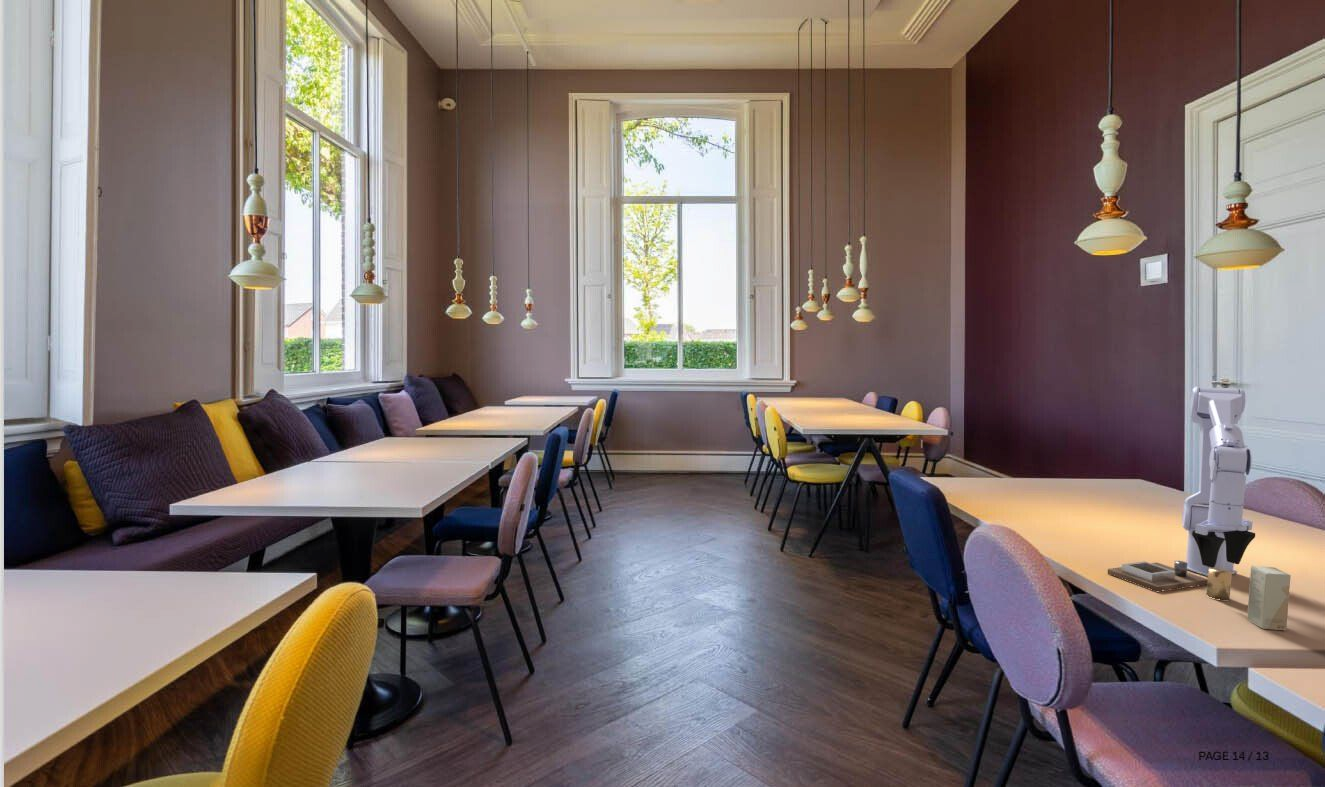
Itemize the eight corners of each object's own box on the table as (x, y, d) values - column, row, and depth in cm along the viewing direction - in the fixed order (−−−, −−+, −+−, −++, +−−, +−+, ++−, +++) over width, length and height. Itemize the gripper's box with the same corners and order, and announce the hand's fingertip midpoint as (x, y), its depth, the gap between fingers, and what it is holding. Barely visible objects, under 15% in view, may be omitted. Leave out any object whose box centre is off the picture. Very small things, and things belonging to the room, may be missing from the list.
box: (1287, 631, 136) (1292, 575, 135) (1261, 629, 137) (1266, 573, 136) (1269, 620, 141) (1275, 566, 140) (1245, 618, 142) (1250, 564, 141)
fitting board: (1156, 567, 172) (1158, 550, 172) (1208, 584, 161) (1209, 566, 160) (1107, 573, 167) (1108, 556, 166) (1157, 592, 156) (1158, 573, 155)
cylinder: (1214, 592, 156) (1216, 566, 155) (1234, 599, 152) (1236, 572, 151) (1201, 594, 154) (1203, 568, 154) (1221, 601, 151) (1223, 574, 150)
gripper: (1222, 509, 145) (1216, 573, 146) (1270, 504, 150) (1264, 567, 151) (1187, 501, 152) (1182, 562, 153) (1234, 497, 156) (1228, 557, 157)
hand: (1220, 564), depth 152 cm, fingers open, 7 cm apart
